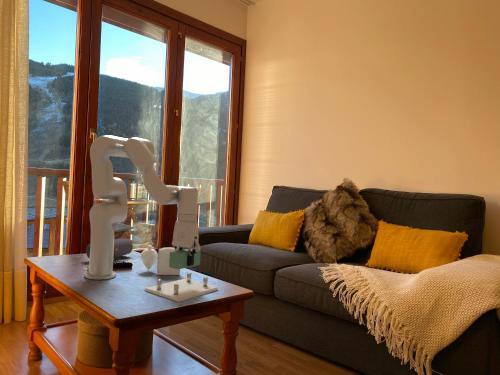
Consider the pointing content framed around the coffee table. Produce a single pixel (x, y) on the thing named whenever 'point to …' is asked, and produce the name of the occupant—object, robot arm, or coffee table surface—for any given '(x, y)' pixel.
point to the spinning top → (149, 257)
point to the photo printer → (165, 262)
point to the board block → (182, 259)
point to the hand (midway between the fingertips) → (185, 263)
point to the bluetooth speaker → (117, 248)
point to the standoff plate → (181, 288)
